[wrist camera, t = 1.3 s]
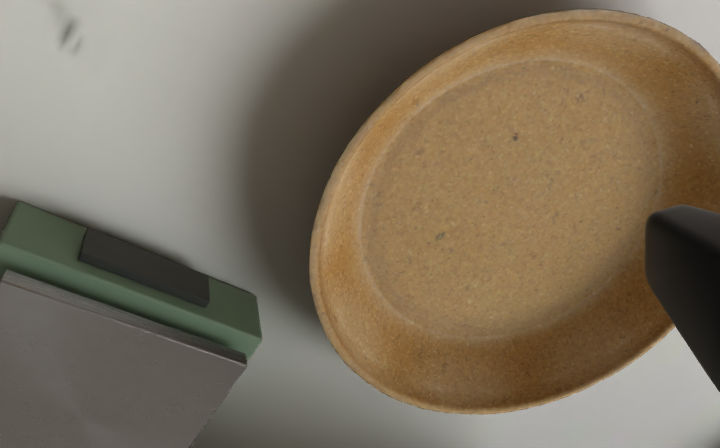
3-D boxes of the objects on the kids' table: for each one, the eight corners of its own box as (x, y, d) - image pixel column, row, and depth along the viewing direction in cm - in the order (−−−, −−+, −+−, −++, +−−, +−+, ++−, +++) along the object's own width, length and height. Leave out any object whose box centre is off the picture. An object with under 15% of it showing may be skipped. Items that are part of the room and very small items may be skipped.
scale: (261, 288, 23) (268, 333, 21) (151, 449, 26) (148, 503, 24) (22, 191, 20) (3, 233, 18) (-77, 389, 22) (-103, 445, 20)
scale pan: (247, 353, 21) (248, 365, 20) (142, 502, 23) (141, 517, 23) (5, 267, 18) (0, 280, 17) (-88, 449, 20) (-96, 465, 20)
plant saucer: (424, 424, 28) (444, 475, 26) (204, 170, 21) (206, 211, 18) (740, 236, 27) (789, 273, 25) (631, -116, 19) (689, -108, 17)
